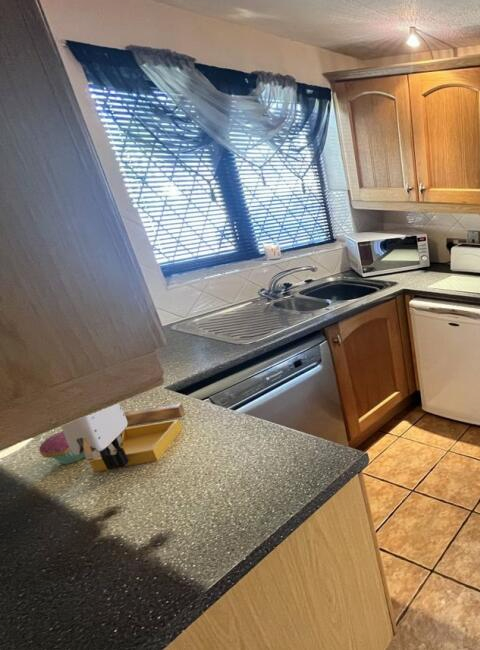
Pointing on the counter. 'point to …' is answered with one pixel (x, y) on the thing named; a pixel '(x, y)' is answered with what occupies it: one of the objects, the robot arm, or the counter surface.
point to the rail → (154, 414)
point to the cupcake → (59, 449)
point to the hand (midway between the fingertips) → (118, 465)
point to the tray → (145, 442)
